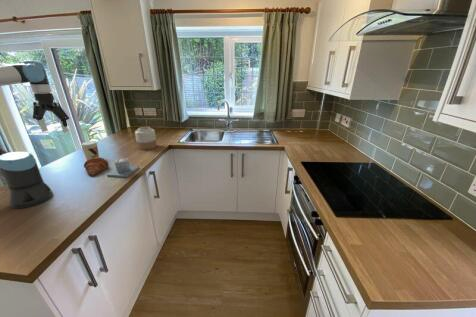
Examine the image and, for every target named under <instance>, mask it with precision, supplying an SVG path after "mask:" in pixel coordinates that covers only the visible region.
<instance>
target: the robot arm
mask: <svg viewBox="0 0 476 317" xmlns="http://www.w3.org/2000/svg"><path fill="white" fill-rule="evenodd" d="M46 72H47V71H46V69H45V66H44V64H43V62H41V61H39V60H23V61H22V63H0V87H3V86H4V87H5V86H11V85H17V84H18V85H19V84H25V83H26V84H27V83H29V84H30V88H31V91H32V93H33V96H34V100H35V101H33V102H32V104H33V110H32V111H33V113H32V119H34V120H37V124H38V125H39V127H40V130H41V132H42V133H43V132H48V131H49V130H48V128H47V124H46V121H45V119H44V116H45V113H46V112H52V113H53V114H54V115H55V117H56V118H58V119H59V120H60V121H59V124H60V127H61V129H62V133H63V134H65V133H69V132H70V131H69V126H68V123H67V122H68V121H67V120H70V117H69V116H68V115H67V113H66V111H65V110H64V108H62V106H61V104H60V102H59V101H56V102H54V100H55V98H54V95H53V93H52V88H51V86H50V83H49V79H48V75H47V73H46ZM0 179H2V180H4V181H5V184H6V187H8V190H9V195H8V197H9V198H8V199H9V200H8V204H9V205H10V207H11V208H12V209H26V208H30V207H34V206H38V205H40V204H42V203H44V202H47V201H49V200H50V199H51V198H52V197H53V195H54V192H53V190H52V188H50V187H49V185H48V184H47V183H45V181H44V180H43V177H42V173H41V171H40V169H39V165H38V164H37V159H36V158H35V157H34V155H33V154H32V153H31V152H28V151H12V152H11V151H10V152H8V151H6V150H4V149H3V148H1V147H0Z"/></svg>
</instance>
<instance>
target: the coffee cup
mask: <svg viewBox="0 0 476 317" xmlns="http://www.w3.org/2000/svg"><path fill="white" fill-rule="evenodd" d="M80 146H81V149H82V151H83V154H84V157H85V159H86V160H87V161H88V160H90V159H92V158H100V156H99V149H98V143H97V142H96V141H93V140H91V141H85V142H82V143H80Z"/></svg>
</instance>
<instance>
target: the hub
mask: <svg viewBox="0 0 476 317" xmlns="http://www.w3.org/2000/svg"><path fill="white" fill-rule="evenodd" d="M121 159H124V160H125V161H122V162H119V160H121ZM114 165H115V170H116V169H117V172H118V173H125V172H128V171H129V170H130V166H131V165H130V163H129V158H127V157H126V158H125V157H122V158H118V159H115V160H114Z"/></svg>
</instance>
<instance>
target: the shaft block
mask: <svg viewBox="0 0 476 317" xmlns="http://www.w3.org/2000/svg"><path fill="white" fill-rule="evenodd" d="M120 159H121V158H120ZM122 161H125V160H124V159H121V160H119V162H122ZM129 166H130V170H129V171H128V172H125V173H118V172H117V169H116V168H115V169H114V170H113V171H111V172H109V173H107V175H106V176H107V177H108V178H109V177H110V178H123V179H126V178H128V177H129V176H130V175H132V174H134V173H135V172H136V171H138V170H139V169H140V166H137V165H136V166H134V165H129Z"/></svg>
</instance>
